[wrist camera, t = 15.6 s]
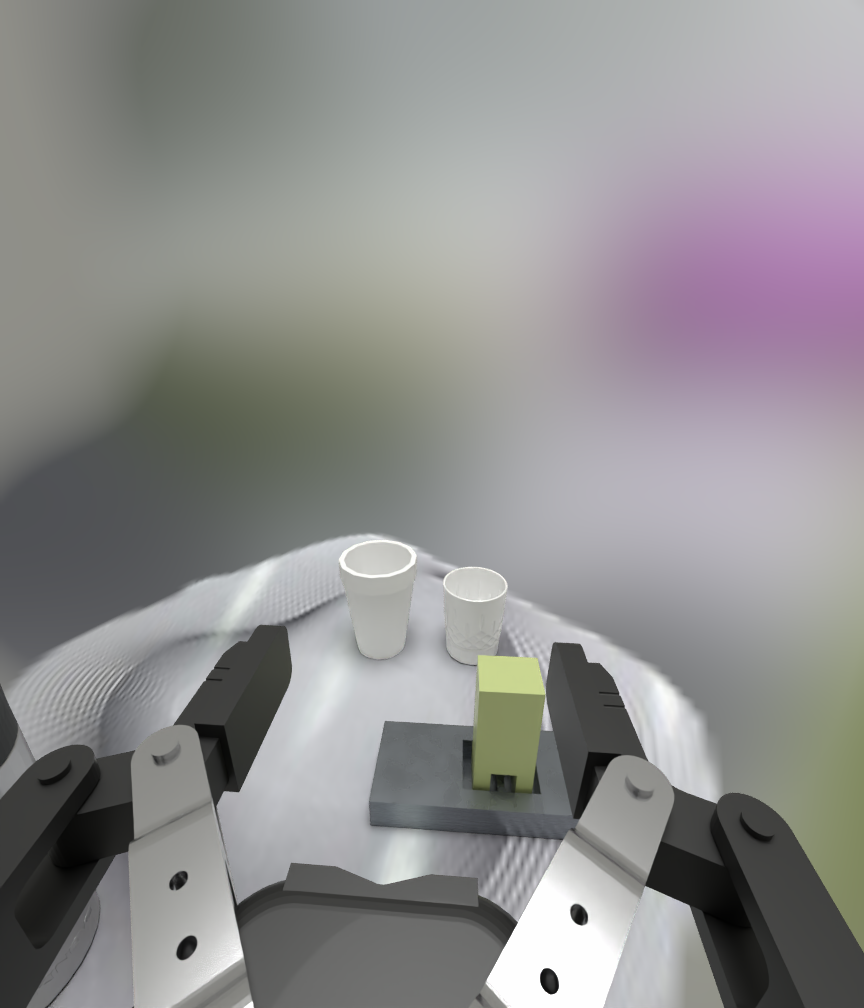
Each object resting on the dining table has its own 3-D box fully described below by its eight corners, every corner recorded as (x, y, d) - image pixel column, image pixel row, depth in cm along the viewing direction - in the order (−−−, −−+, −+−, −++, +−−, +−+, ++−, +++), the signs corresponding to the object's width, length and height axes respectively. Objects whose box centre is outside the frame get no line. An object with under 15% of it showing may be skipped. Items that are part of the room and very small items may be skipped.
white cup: (487, 678, 53) (492, 608, 50) (430, 655, 57) (431, 588, 53) (510, 640, 60) (516, 576, 56) (458, 622, 63) (460, 561, 60)
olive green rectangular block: (472, 804, 39) (479, 691, 34) (471, 762, 42) (477, 655, 38) (529, 808, 39) (545, 694, 34) (523, 766, 42) (537, 658, 37)
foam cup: (355, 619, 64) (350, 538, 59) (419, 622, 63) (419, 541, 58) (338, 666, 55) (330, 576, 50) (412, 671, 54) (411, 580, 49)
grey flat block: (370, 825, 38) (369, 801, 36) (385, 742, 45) (384, 721, 44) (635, 844, 36) (642, 820, 35) (606, 756, 44) (611, 734, 43)
